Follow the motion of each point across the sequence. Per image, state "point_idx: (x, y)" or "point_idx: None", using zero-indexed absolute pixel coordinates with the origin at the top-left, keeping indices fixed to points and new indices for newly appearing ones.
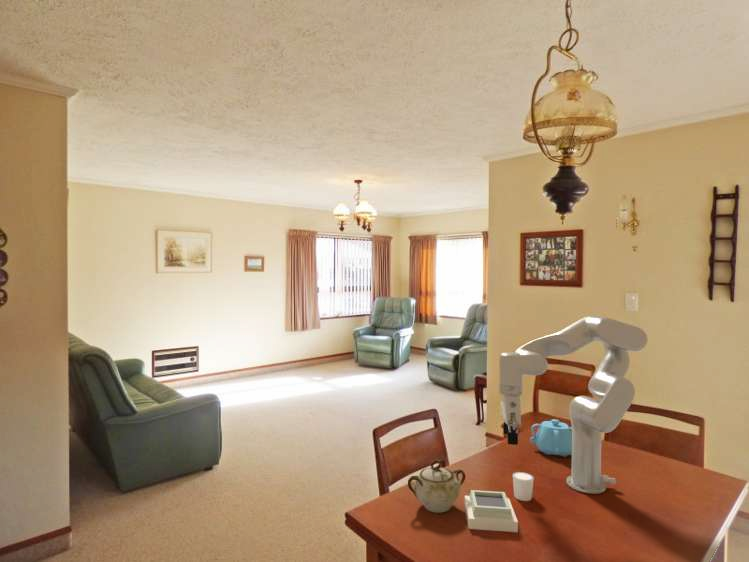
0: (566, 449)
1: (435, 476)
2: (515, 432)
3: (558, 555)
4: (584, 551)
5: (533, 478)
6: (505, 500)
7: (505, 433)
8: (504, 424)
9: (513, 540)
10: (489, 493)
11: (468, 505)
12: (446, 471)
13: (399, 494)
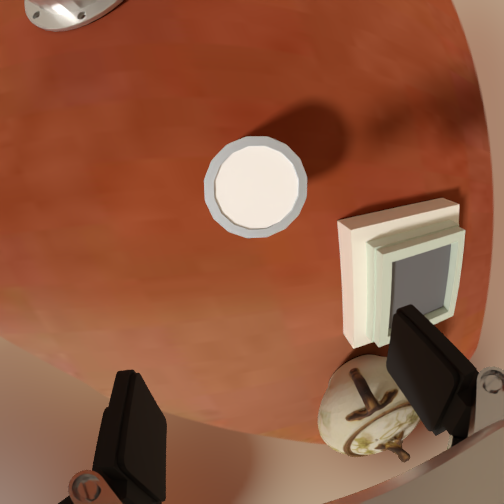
0: None
1: (413, 427)
2: (495, 384)
3: (486, 123)
4: (466, 64)
5: (265, 137)
6: (429, 247)
7: (162, 416)
8: (164, 491)
9: (464, 208)
10: (389, 297)
11: None
12: (393, 425)
13: (317, 435)
